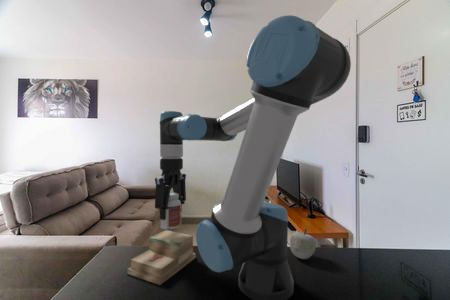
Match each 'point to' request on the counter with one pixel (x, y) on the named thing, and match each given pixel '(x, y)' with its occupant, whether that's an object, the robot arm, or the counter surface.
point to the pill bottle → (174, 211)
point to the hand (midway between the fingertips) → (171, 225)
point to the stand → (163, 257)
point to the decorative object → (302, 244)
